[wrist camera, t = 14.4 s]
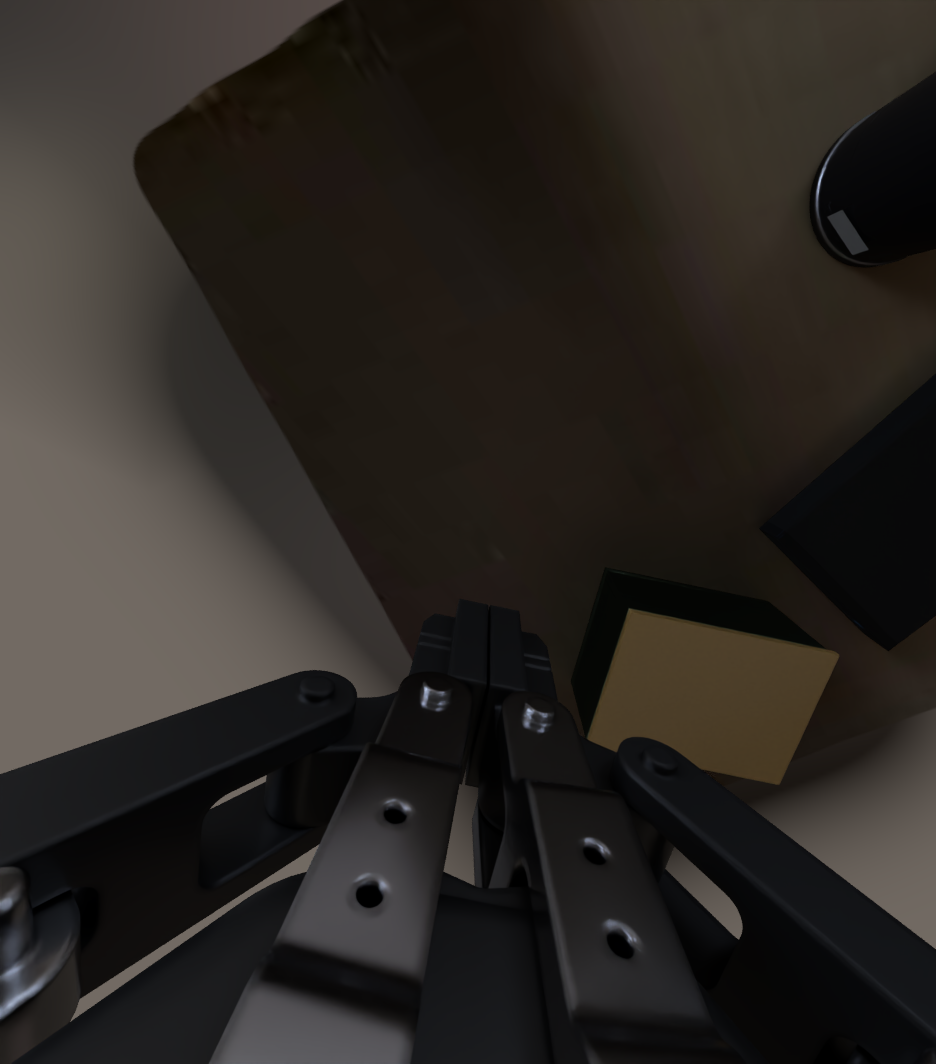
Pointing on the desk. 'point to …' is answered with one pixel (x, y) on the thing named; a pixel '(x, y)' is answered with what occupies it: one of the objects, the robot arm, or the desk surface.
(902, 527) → the external hard drive
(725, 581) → the desk surface
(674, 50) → the desk surface
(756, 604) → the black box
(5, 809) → the robot arm
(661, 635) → the tin lid
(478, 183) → the desk surface
